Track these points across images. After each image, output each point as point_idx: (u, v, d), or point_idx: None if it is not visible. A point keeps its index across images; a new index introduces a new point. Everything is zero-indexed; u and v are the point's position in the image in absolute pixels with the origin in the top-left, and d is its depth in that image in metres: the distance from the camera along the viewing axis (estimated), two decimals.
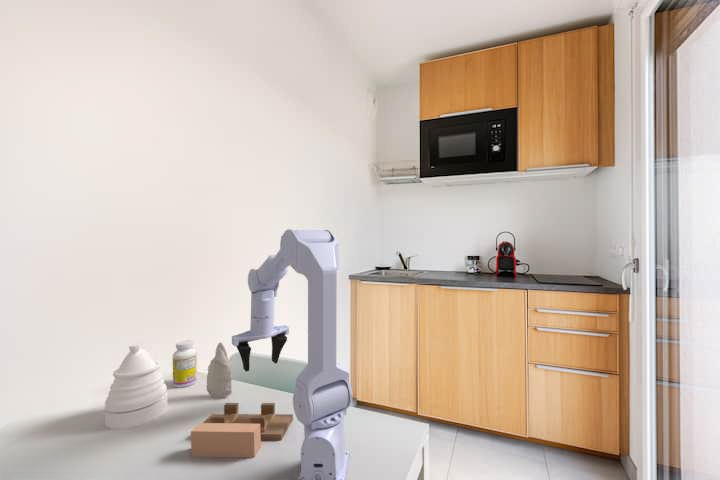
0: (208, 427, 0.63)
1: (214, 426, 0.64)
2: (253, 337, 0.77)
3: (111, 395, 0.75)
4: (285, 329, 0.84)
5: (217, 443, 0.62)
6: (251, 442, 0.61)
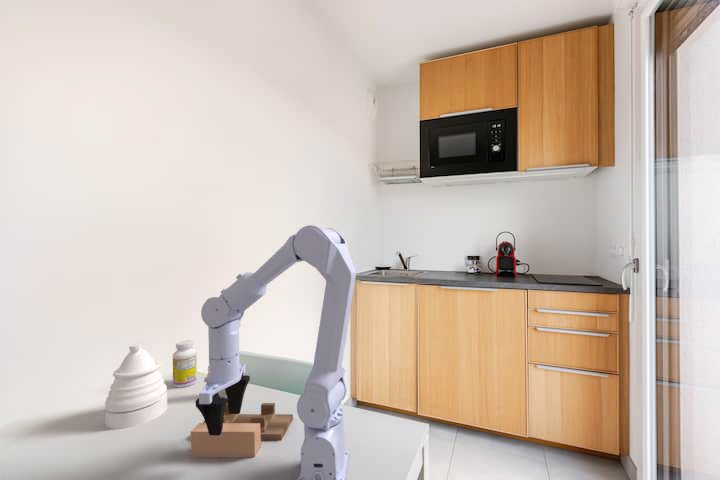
0: None
1: None
2: (227, 384, 0.60)
3: (111, 395, 0.75)
4: (243, 367, 0.69)
5: (217, 443, 0.61)
6: (252, 442, 0.61)
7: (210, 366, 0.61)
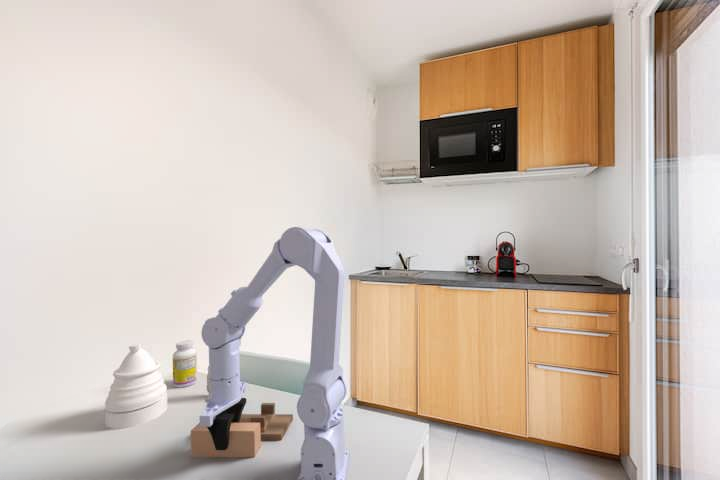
0: None
1: None
2: (227, 405, 0.60)
3: (111, 395, 0.75)
4: (244, 385, 0.69)
5: None
6: (252, 441, 0.61)
7: (210, 387, 0.61)
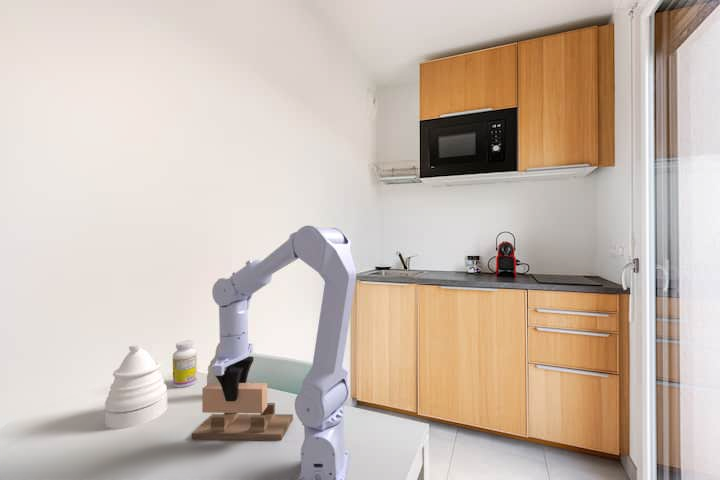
0: (218, 386, 0.68)
1: None
2: (237, 359, 0.65)
3: (111, 395, 0.75)
4: (251, 346, 0.74)
5: None
6: (259, 398, 0.65)
7: (221, 342, 0.66)
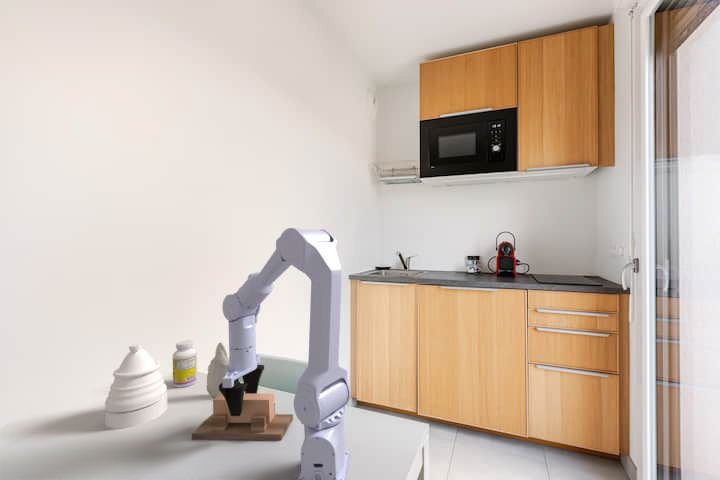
0: None
1: None
2: (246, 371, 0.68)
3: (111, 395, 0.75)
4: (258, 357, 0.77)
5: None
6: (267, 408, 0.69)
7: (230, 355, 0.69)
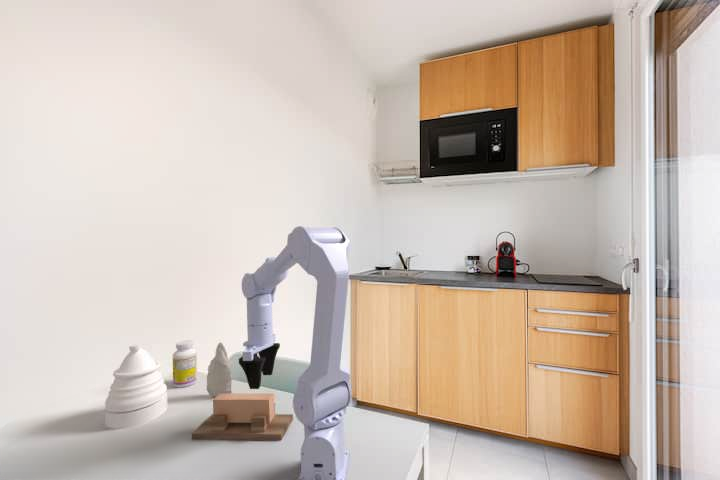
0: (228, 396, 0.71)
1: (233, 395, 0.72)
2: (264, 346, 0.71)
3: (111, 395, 0.75)
4: (274, 336, 0.80)
5: (236, 409, 0.70)
6: (267, 408, 0.69)
7: (249, 332, 0.72)
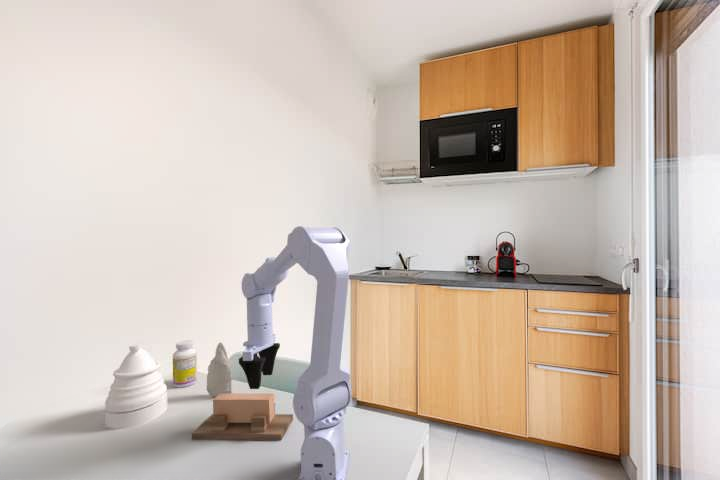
0: (228, 396, 0.71)
1: (233, 395, 0.72)
2: (264, 346, 0.71)
3: (111, 395, 0.75)
4: (274, 336, 0.80)
5: (236, 409, 0.70)
6: (267, 408, 0.69)
7: (249, 332, 0.72)
